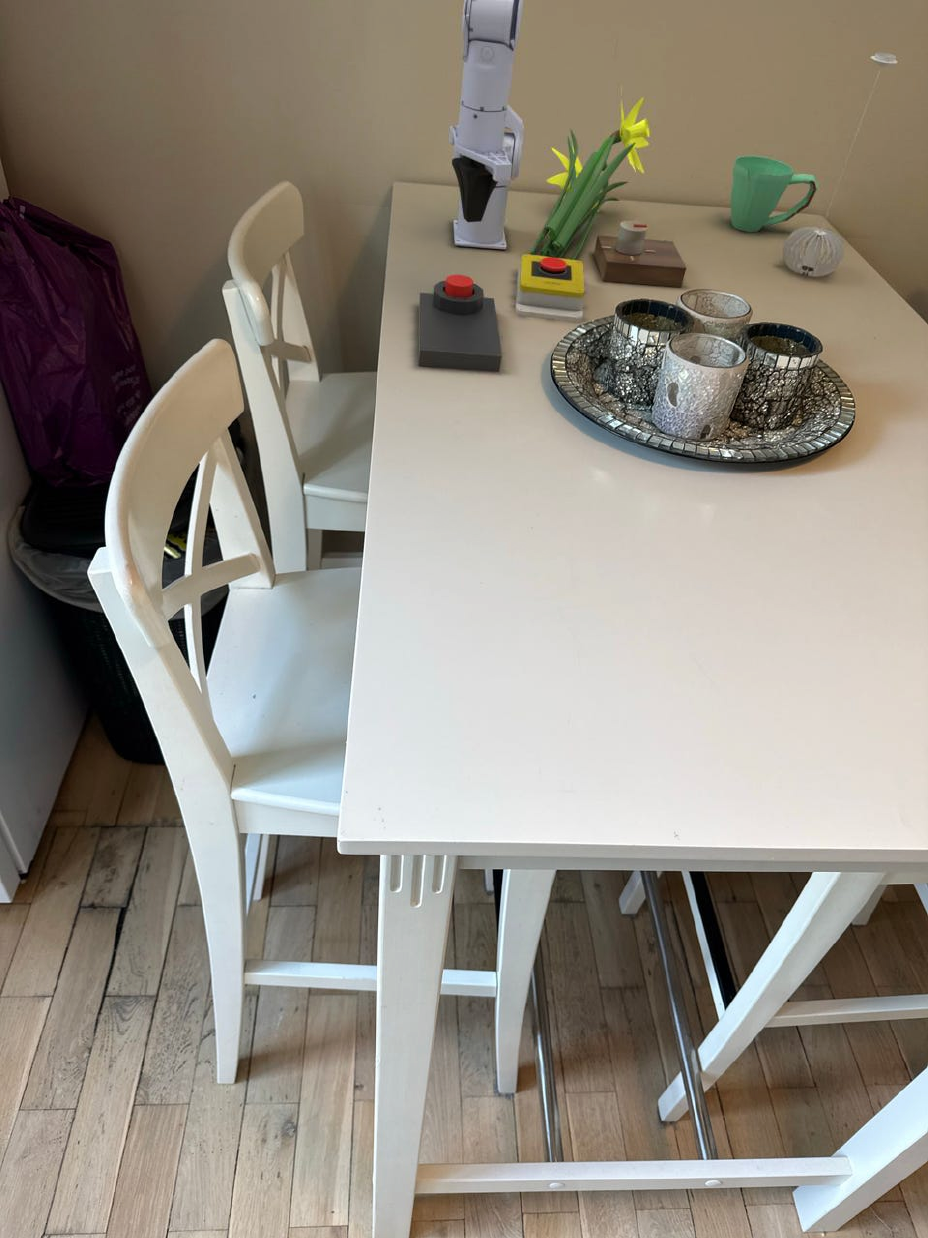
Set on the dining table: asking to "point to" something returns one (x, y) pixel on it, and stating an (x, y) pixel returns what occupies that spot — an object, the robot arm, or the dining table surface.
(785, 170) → the mug
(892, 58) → the pendant light
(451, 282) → the light button
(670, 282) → the dimmer panel
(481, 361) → the switch box
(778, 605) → the dining table surface
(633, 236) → the dimmer knob
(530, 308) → the emergency button
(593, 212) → the daffodil flowers
